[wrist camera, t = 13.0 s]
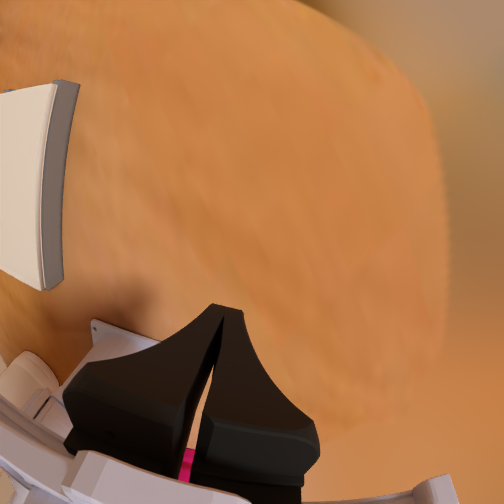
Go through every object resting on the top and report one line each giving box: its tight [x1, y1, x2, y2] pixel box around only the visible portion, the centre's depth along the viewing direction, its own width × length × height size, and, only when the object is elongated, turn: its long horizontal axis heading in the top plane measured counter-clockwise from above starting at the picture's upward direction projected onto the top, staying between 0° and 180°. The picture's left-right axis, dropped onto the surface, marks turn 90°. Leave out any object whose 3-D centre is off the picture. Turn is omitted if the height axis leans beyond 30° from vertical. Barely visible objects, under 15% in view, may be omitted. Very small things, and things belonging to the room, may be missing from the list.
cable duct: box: [4, 80, 80, 291], centre depth 18 cm, size 18×9×3 cm, turn 167°
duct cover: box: [0, 84, 58, 291], centre depth 16 cm, size 17×9×1 cm, turn 167°
